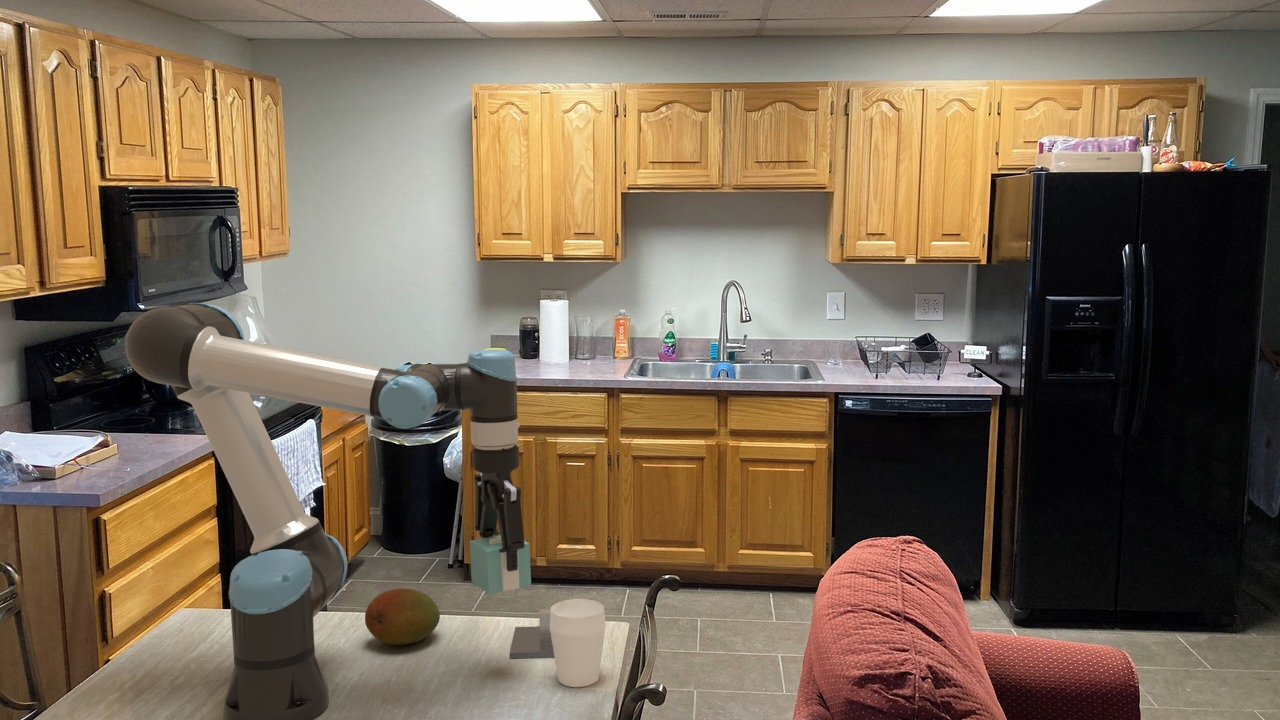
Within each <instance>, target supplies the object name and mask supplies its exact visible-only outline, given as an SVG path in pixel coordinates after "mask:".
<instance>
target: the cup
mask: <svg viewBox="0 0 1280 720" xmlns="http://www.w3.org/2000/svg"><path fill="white" fill-rule="evenodd" d="M550 609H551V611H550V632H551V639H552V645H553V651H554V662H555V667H556V674H557V680H558V683H561V684H562V685H564V686H566V687H571V688H583V687H589V686H591V685H593V684H595V683H597V682H598V680H599V679H600V671H601V663H602V658H603V657H602V655H603V650H604V649H603V647H604V641H605V632H606V619H605V618H606V615H605V606H604V604H603V603H602V602H600V601H597V600H593V599H587V598H570V599H565V600H561V601H557V602H555V603H554V604H552V605H551V607H550Z"/></svg>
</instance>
